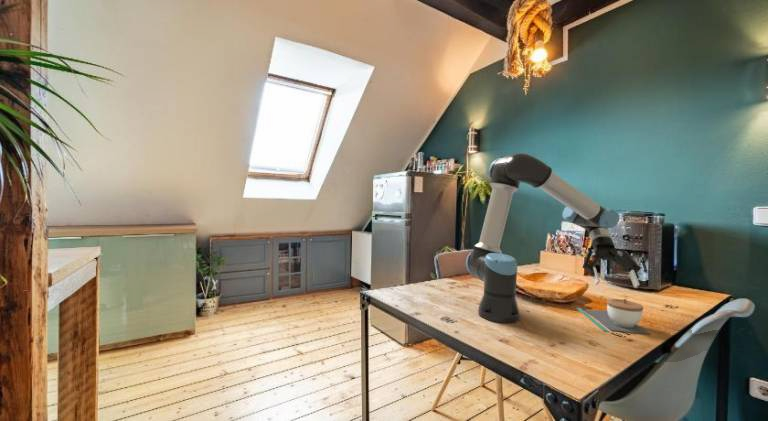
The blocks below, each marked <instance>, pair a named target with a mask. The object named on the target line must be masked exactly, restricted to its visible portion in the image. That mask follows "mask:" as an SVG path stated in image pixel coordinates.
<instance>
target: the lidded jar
mask: <svg viewBox="0 0 768 421" xmlns="http://www.w3.org/2000/svg"><path fill="white" fill-rule="evenodd" d="M643 310H644V306H643V305H642V304H639V303H637V302H633V301H630V300H627V299H626V298H622V299H619V298H618V299H617V298H616V299H615V298H612V299H611V298H610V299H607V300H606V311H607V312H608V316H609V317H610V319H611V320H612V321H613V323H614V324H616V325H619V326H622V327H629V328H632V327H634V326H635V325H638V324H639V323H640V321H641V320H642V316H643Z"/></svg>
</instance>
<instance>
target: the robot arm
mask: <svg viewBox="0 0 768 421" xmlns="http://www.w3.org/2000/svg"><path fill="white" fill-rule="evenodd" d="M488 176H489V178H490V183H489V186H490V187H491V189H492V190H491V194H490V197H489V201H488V205H487V210H486V213H485V217H484V220H483V221H484V222H483V224H482V225H483V226H482V228H481V231H480V232H481V233H480V237H479V241H478V243H476V244H474V245H473V249H472V251H471V252H470V253H469V254H468V255H467V256H466V260H465V266H466V267H465V268H466V269H467V271H468V273H470V275H471V276H472V277H474V278H475V279H477V280H479V281H482V282H483V295H482V297H481V299H480V303H479V305H478V312H477V314H478V315H479V316H480V317H481V318H482V319H485V320H488V321H491V322H496V323H502V324H505V323H507V324H512V323H516V322H518V321H520V318H521V313H520V309H519V305H518V302H517V298H516V296H517V274H518V261H517V259H516V258H515V257H513V256H512V255H509V254H504V253H503V252H502V250H501V243H502V242H501V241H502V239H503V236H504V231H505V226H506V224H507V219H508V215H509V210H510V207H511V203H512V200H513V196H514V193H516V192H518V191H519V188H520V184H521V183H522V184H526V185H529V186H531V187H533V188H534V189H538V188H539V189H540V190H541V191H543V192H544V193H545V194H546V193H547V195H549V196H550V197H552V198H554V199H555V200H557V201H558V202H560V203H561V204H562V205H564V206H565V207H564V209H563V211H562V215H561V216H562V218H563V220H564V221H566V222H568V223H570V224H573V225H575V226H578V227H581V228H583V229H585V230H587V232H588V237H589V239H590V242H591V246H592V247H587V249H586V256H585V259H584V262H583V264H582V269H586V271H587V272H589V275H590V276H591V277H593V278H592V279H593V282H594V284H595V286H598V285H599V284H600V282H601V281H600V277H599V274H598V271H597V270H598V269H597V268H596V267H595V266H596V265H597V263H599V261H600V260H602V261H609V262H611V261H613V262H614V263H617V264H618V265H620V267H622V268H624V269H625V270H627V271H628V275H629V278H630V280H631V283H632V286H633V288H634V289H637V288H638V287H639V286H640V285H641V284H640V282H639V278H640V277H639V275H638V272H639V271H640V270H641V269H642V268H641V266H640V265H639V264H638V263H637V262H635V260H633V258H631V257H630V256H629V255H628V254H627V252H626V250H625V249H621V250H617V249H616V246H615V244H614V240H613V238H612V236H611V233H610V231H609V229H612V228H614V227H616V226H617V225H618V224H619V222H620V215H619V213H618V211H616V210H614V209H611V208H605V207H604V206H602V205H601V204H599V203H597V202H595V201H594V200H593V199H592V198H590V197H589V196H587V195H586V194H584V193H583V192H581V191H580V190H578V189H577V188H576V187H574V186H573V185H572V184H570V183H568V182H567V181H566V180H564V179H563V178H561V177H560V176H559V175H557V174H556V173H554V172H553V168H552V167H551V166H549V165H548V164H546V162H544V161H542V160H540V159H538V158H537V157H534V155H531V154H528V153H523V152H518V153H514V154H509V155H503V156H500V157H499V158H496V159H495V160H494V161H492V163H491V164H490V166H489V168H488ZM592 248H593V249H592ZM593 254H595V255H596V257H595V258H594V260H592V261H591V263H590V264H589V262H590V260H591V256H592V255H593Z"/></svg>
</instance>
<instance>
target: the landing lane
mask: <svg viewBox="0 0 768 421" xmlns="http://www.w3.org/2000/svg"><path fill="white" fill-rule="evenodd" d="M576 309H577V311H579V312H580V313H581V314H583V315H584V316H585V317H586V318H587V319H588V320H589V321H591V322H592V323H593V324H595V326H597V327H598V328H599V329H601V330H602V332H608V333H609V332H617V333H618V332H619V333H627V334H639V335H651V333H650V332H649V331H647V330H645V329H644V328H642V327H641V326H639V325H638V324H637V325H635V326H634V327H632V328H629V327H622V326H619V325H616V324H614V323H613V321H612V320H611V319H610V317H609V316H608V312H607V310H602V309H601V310H597V309H589V308H588V309H587V308H585V309H584V310H583V308H580V307H576Z"/></svg>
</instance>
